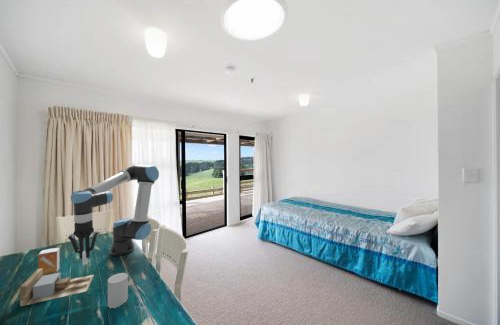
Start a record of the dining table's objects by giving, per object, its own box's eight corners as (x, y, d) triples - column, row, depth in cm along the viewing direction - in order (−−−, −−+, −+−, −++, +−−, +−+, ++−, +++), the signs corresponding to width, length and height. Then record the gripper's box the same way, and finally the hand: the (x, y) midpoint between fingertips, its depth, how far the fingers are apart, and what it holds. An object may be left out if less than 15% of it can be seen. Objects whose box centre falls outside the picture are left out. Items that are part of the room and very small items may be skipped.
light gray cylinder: (131, 298, 99) (131, 274, 98) (115, 310, 91) (116, 284, 91) (119, 294, 101) (119, 271, 101) (103, 305, 94) (103, 280, 93)
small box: (38, 276, 115) (37, 254, 115) (41, 271, 120) (41, 250, 120) (57, 272, 119) (57, 251, 119) (59, 267, 125) (59, 246, 124)
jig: (94, 276, 116) (94, 259, 116) (86, 293, 102) (86, 273, 102) (37, 288, 105) (37, 269, 105) (20, 308, 91) (20, 286, 91)
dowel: (69, 284, 106) (69, 277, 106) (67, 289, 103) (67, 281, 103) (44, 290, 102) (44, 282, 102) (40, 295, 98) (40, 287, 98)
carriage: (60, 283, 107) (60, 272, 107) (52, 294, 98) (52, 282, 98) (42, 287, 104) (42, 275, 104) (33, 299, 95) (32, 286, 95)
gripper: (100, 217, 113) (101, 257, 114) (70, 220, 107) (71, 263, 108) (97, 221, 106) (98, 264, 108) (65, 225, 100) (66, 270, 102)
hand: (85, 263), depth 108 cm, fingers closed
